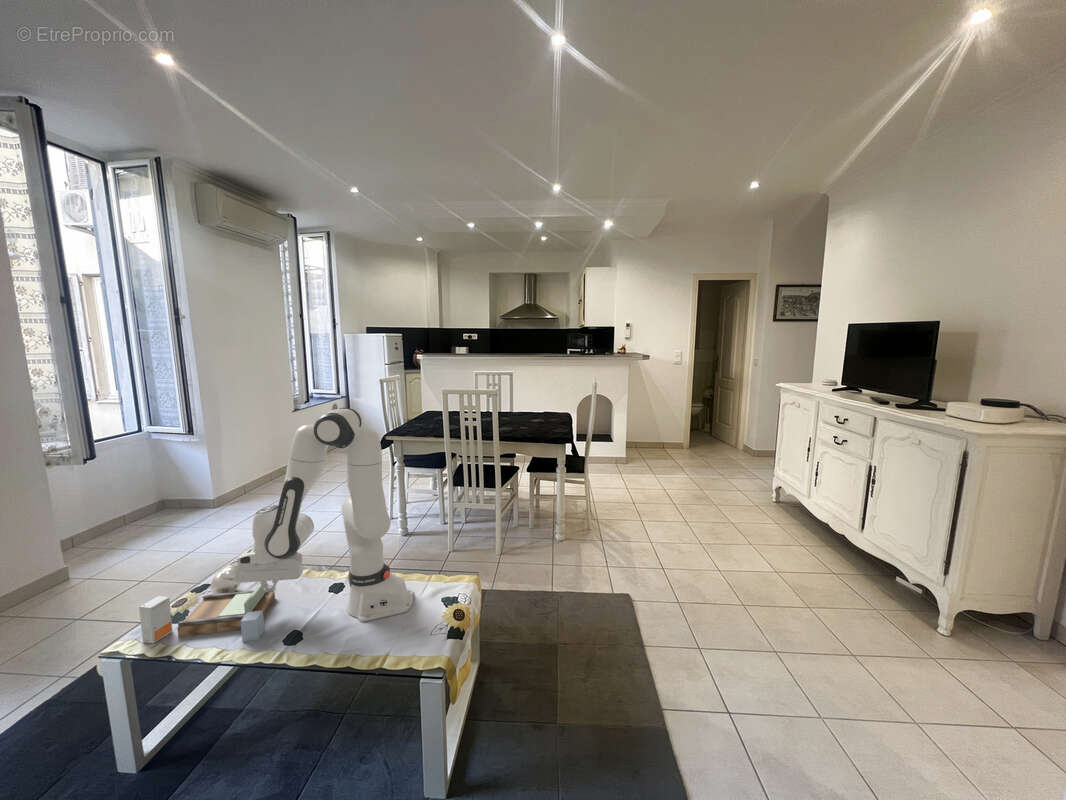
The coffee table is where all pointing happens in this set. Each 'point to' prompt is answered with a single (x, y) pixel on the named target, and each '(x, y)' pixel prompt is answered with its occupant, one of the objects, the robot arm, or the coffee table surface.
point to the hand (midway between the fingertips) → (270, 591)
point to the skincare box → (155, 619)
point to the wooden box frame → (209, 610)
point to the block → (252, 626)
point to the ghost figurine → (224, 582)
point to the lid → (243, 603)
